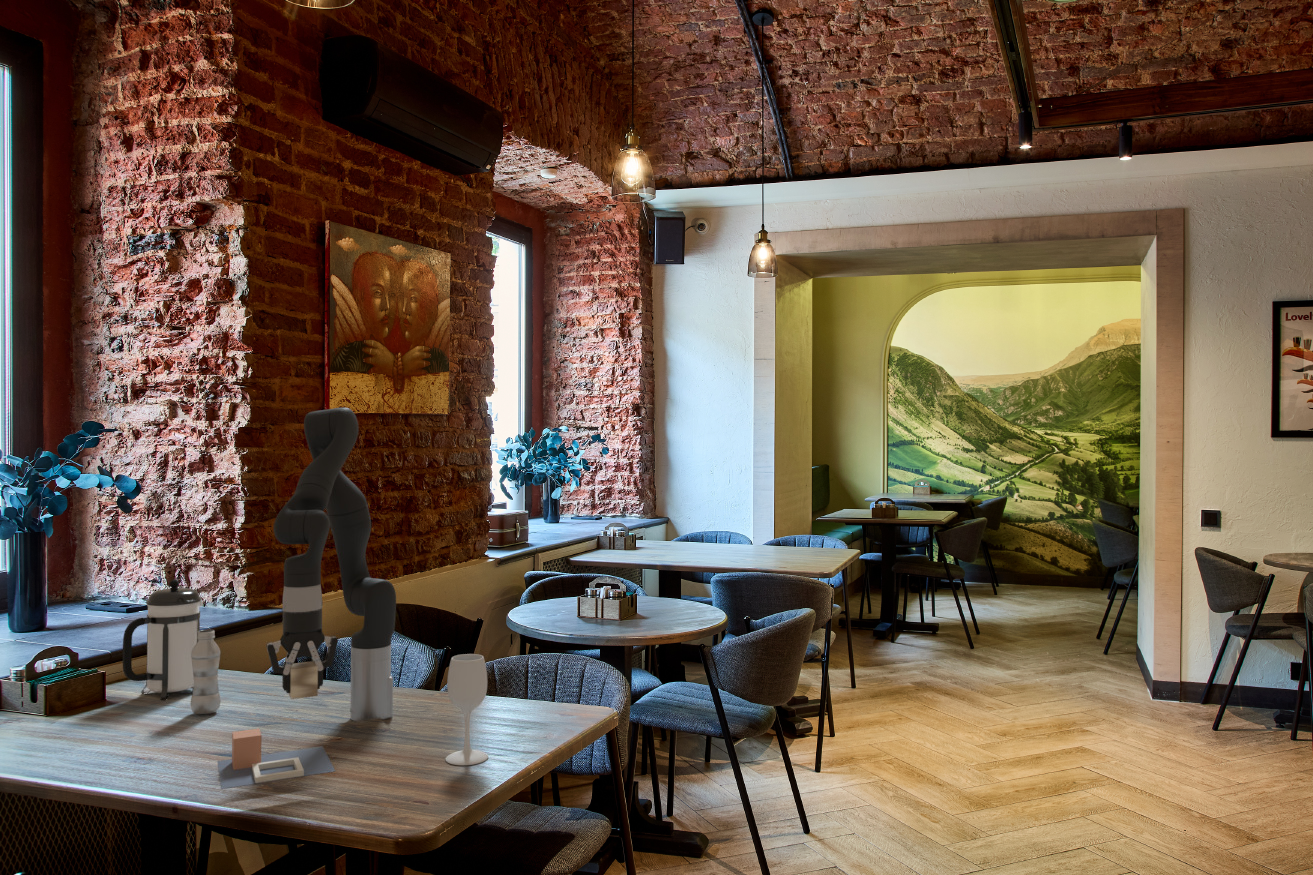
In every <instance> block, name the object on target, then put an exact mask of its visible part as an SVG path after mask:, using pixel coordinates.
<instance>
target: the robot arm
mask: <svg viewBox="0 0 1313 875" xmlns="http://www.w3.org/2000/svg"><path fill="white" fill-rule="evenodd" d="M303 428H304V436H305V440H306V443H307V446H308V449H309V452H310V455H311V459H312V461H311V462H310V464H308V466H306V468H304V470H303V472H302V473H301V475H300V477H299V479H298V482H297V486H296V488H295V491H294V493H293V495H292V496H291V497H290V499H289V500H288V501H287V502H286V503H285V505H284V506H283V507H282V508H281V510H280V511H279V512H278V513H277V516H276V517H275V521H274V524H273V533H274V537H275V538H276V540H277V541H278V542H279V543H280V544H283V545H308V549H307V550H306V552H305V553H302V554H296V555H293V556H289V557H287V558H286V559H285V561H284V564H283V592H282V593H283V594H282V636H281V638H280V639H279V640H277V641H274V642H268V643H267V644H266V650H267V653H268V658H269V661H270V665H271V668H272V671H273V673H275V674H280V675H282V676H281V677H282V687H281V688H282V689H283V691H285V692H286V694H288V693H290V668H291V667H292V665H293V664H294V662H295V660H296V659H301V658H302V657H304V658H311V660H312V661H313V662H314V663H315V665H317V666H318V690H320V689H321V687H323V685H324V670H325V669H327V668H331V667H332V665H333V663H334V659H335V655H336V650H337V648H338V643H339V639H338V638H337V637H336V636H335V635H331V636H328V635H325V634H324V632H323V602H324V601H323V594H322V593H323V591H322V585H321V584H322V583H321V582H322V580H321V579H322V578H321V570H322V569H321V566H322V559H323V554H324V550H325V545H326V542H327V539H328V535H329V532H330V530H331V533H332V534H331V535H332V536H333V537H332V538H333V543H334V545H335V546H334V547H335V550H336V555H337V558H338V559H337V560H338V564H339V565H338V566H339V572H340V577H341V578H340V579H341V588H342V594H343V600H344V603H345V606H346V608H347V610H348V611H349V612H350V613H351V614H353V615H355V616H360V617H363V626H362V629H361V630H358V631H356V632H354V633H352V635H351V638H350V639H351V640H350V647H351V648H350V710H349V711H350V720H351V721H353V722H362V721H369V720H375V719H381V720H386V719H389V718H393V717H394V716H393V712H394V711H393V710H394V708H393V707H394V706H393V705H394V702H393V700H394V695H393V694H394V678H393V676H392V637H393V635H394V632H395V628H396V613H397V612H396V611H397V610H396V609H397V594H396V593H397V592H396V590H395V587H394V585H393V583H392V582H390V581H389V580H387V579H382V578H373V577H371V575H370V572H369V568H368V564H367V560H366V553H367V552H366V550H367V546H368V542H369V540H370V535H371V530H372V520H371V515H370V510H369V506H368V502H367V501H368V500H367V498H366V496H365V495H364V494H363V492H362V491H361V489H360V488H359V487H358V486H357V485H356V484H355V483H354V481H353V482H352V481H351V479H350V478H348V476H346V474H344V472H343V471H342V467H343V466H344V464H345V463H346V461H347V459H348V457H349V455H350V453H351V452H352V451H353V448H354V447H355V444H356V443H357V439H358V436H359V421H358V419H357V416H356V414H355V412H354V411H353V410H352V409H351V408H348V407H337V408H336V407H335V408H330V409H329V408H328V409H323V410H322V409H321V410H314V411H310V412H308V413H307V414H305V417H304V421H303ZM325 511H326V512H325ZM324 642H325V646H326V647H327V650H326V654H325V658H324V660H323V661H322V660H321V658H320V655H319V653H318V650H319V648H320V647H321V645H322V644H323V643H324ZM281 646H282V649H284V650H285V651H286V652H287V653H286V656H285V660H284V662H283V665H280V664H279V661H278V657H277V653H279V651H280V648H281Z"/></svg>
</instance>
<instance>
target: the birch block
mask: <svg viewBox="0 0 1313 875" xmlns="http://www.w3.org/2000/svg"><path fill="white" fill-rule="evenodd" d="M318 692H319V689H318V666H317V665H315V663H314V662H313V660H312V661H303V662H297V663H296V662H295V663H293V665H292V667H291V668H290V693H287V694H288V695H289V697H290V699H291V700H296V699H304V698H310V697H312V698H313V697H318Z"/></svg>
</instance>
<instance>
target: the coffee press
mask: <svg viewBox="0 0 1313 875" xmlns="http://www.w3.org/2000/svg"><path fill="white" fill-rule="evenodd" d="M179 585H180V581H179V580H177V579H172V580H170V581H169V586H170V588H163V589H159V590H158V589H157V590H156V591H154V592H152V593H151V594H150V595H149V597H148V599H147V600H145V601H146V602H145V604H146V606H147V615H146V617H138V618H136V619H134V620H132V621H131V622H130V623H129V624H127V626H126V628H125V631H124V633H123V639H122V670H123V674H124V675H125V677H126V678H127V679H128V680H130V681H133V682H144V681H146V684H145V686H144V687H143V689H142V690H141V695H143V694H144V693H147V694H146V695H148V694H149V693H150V692H154V693H159V694H160V701H167V700H168V698H169V695H170V694H171V693H174V692H181V691H186V690H189V689H192V690H193V682H194V679H193V677H194V675H193V666H192V658H191V652H192V649H193V648H194V646H195V645H196V644H197V643H198V641H199V640H198V639H197V637H198V631H201V628H200V626H201V621H200V620H201V611H200V607H203V606H204V603H203V600H202V597H201V596H200V594H199V592H198V591H197V590H195V589H193V588H188V587H187V588H186V587H179ZM146 624H147V629H146V637H147V639H146V670H145V672H146V673H145V672H144V673H138V674H136V673H135V672H134V671H133V668H132V661H133V660H132V652H133V650H132V648H133V646H132V645H133V644H132V643H133V634H134V632H135V631H136V629H137V628H139V627H140V626H143V625H146ZM146 688H147V689H148V690H149V691H148V692H145V689H146ZM166 699H167V700H166Z"/></svg>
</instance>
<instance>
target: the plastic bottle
mask: <svg viewBox="0 0 1313 875" xmlns="http://www.w3.org/2000/svg"><path fill="white" fill-rule="evenodd" d="M215 632H216V631H215V630H214V629H202V630H201V629H200V631H198V637H197V639H198V640H199V641H198V643H197V644H196V645H195V646H194V648H193V649H192V652H191V658H192V666H193V675H194V677H193V679H194V682H193V689H192V695H191V698H190V704H189V705H190V711H191V712H192V713H193V714H197V715H209V714H212V713H215V712H216V713H217V711H218V710H219V709H220V707H221V702H222V700H221V695H220V692H219V691H220V690H219V665H220V660H221V648H220V647H219V644H217V642H216V641H215V640H214V639H215V638H216V635H215Z"/></svg>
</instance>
